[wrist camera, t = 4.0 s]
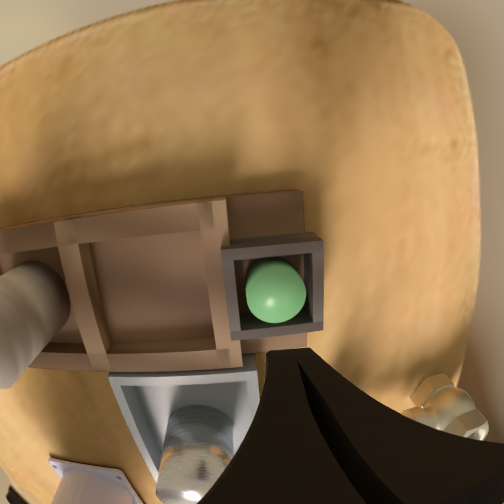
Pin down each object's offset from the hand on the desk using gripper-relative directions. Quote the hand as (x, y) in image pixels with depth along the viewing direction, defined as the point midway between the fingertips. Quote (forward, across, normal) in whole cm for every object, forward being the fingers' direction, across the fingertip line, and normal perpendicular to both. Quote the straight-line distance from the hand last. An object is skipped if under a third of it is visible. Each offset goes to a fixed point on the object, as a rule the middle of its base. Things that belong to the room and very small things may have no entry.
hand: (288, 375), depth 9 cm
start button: (+6, 0, -1) cm, 7 cm away
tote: (+8, +4, +10) cm, 13 cm away
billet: (+8, +4, +10) cm, 13 cm away
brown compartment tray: (+8, +8, 0) cm, 11 cm away
